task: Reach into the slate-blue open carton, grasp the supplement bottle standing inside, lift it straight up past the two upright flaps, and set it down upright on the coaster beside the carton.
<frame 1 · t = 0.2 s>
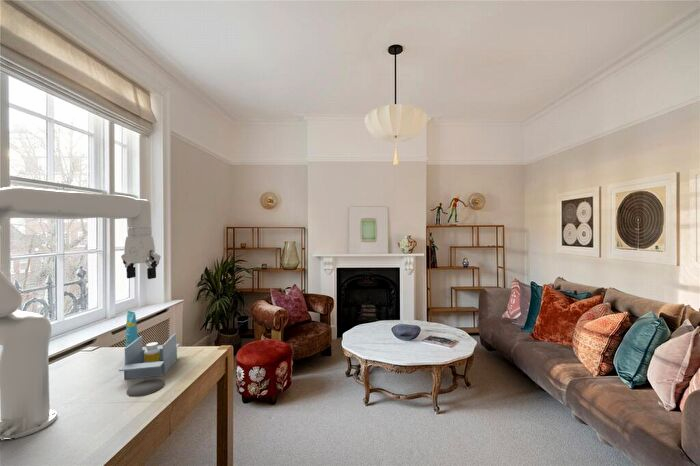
hand: (141, 278, 119), 36 cm above the table, tool pointing down, fingers open, 9 cm apart
supplement bottle: (152, 368, 125), resting in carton
coaster: (146, 387, 109), on the table
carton: (152, 368, 125), on the table
tube: (132, 355, 139), on the table
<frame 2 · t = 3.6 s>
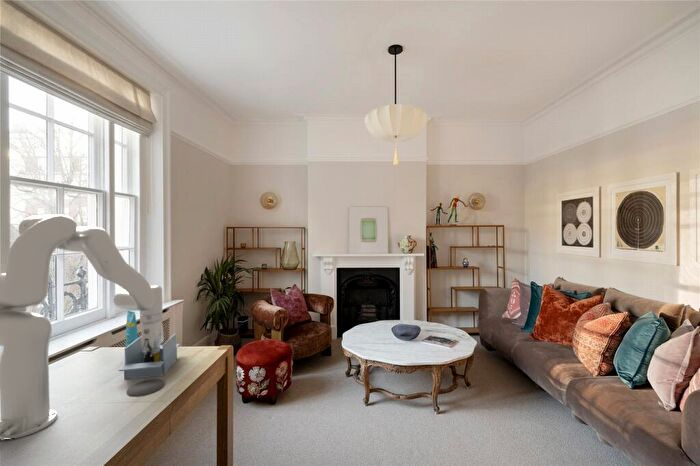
hand: (152, 363, 125), 2 cm above the table, tool pointing down, fingers closed on supplement bottle, 5 cm apart
supplement bottle: (152, 368, 125), resting in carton, touching gripper
everything else where it was.
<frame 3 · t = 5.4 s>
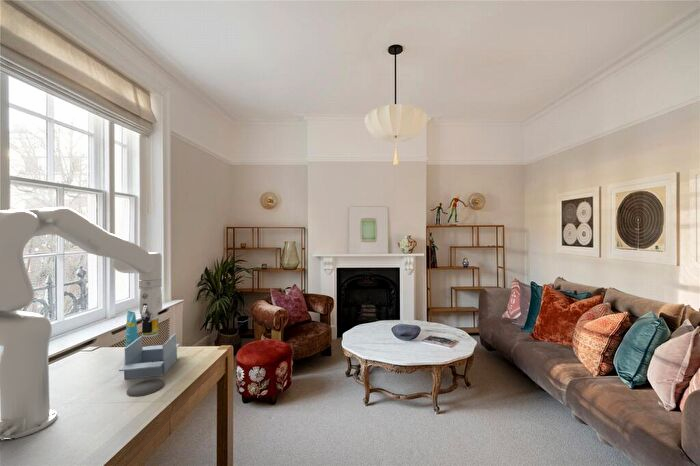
hand: (150, 329, 124), 15 cm above the table, tool pointing down, fingers closed on supplement bottle, 5 cm apart
supplement bottle: (150, 335, 124), point 13 cm above the table, touching gripper
everything else where it was.
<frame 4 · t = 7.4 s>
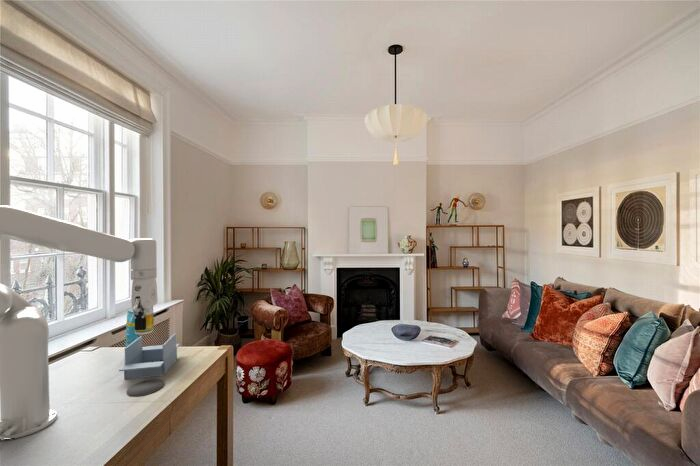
hand: (144, 326, 109), 21 cm above the table, tool pointing down, fingers closed on supplement bottle, 5 cm apart
supplement bottle: (144, 332, 109), point 19 cm above the table, touching gripper
everything else where it was.
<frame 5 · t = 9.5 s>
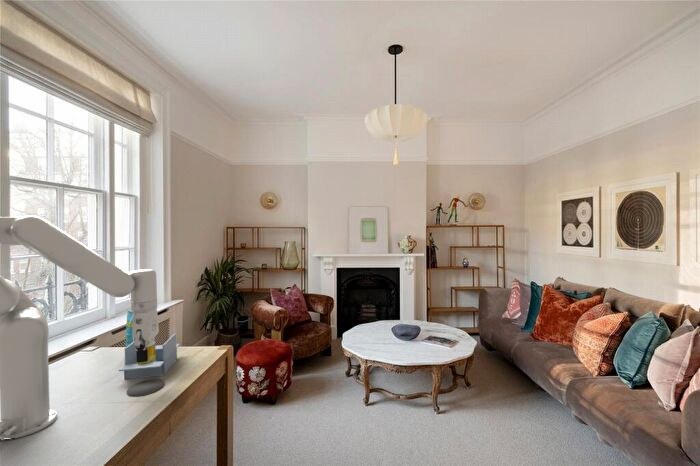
hand: (146, 357, 109), 10 cm above the table, tool pointing down, fingers closed on supplement bottle, 5 cm apart
supplement bottle: (146, 363, 109), point 8 cm above the table, touching gripper
everything else where it was.
when the fingers open (4 cm above the table, at t = 11.2 s): supplement bottle drops 1 cm, resting on coaster.
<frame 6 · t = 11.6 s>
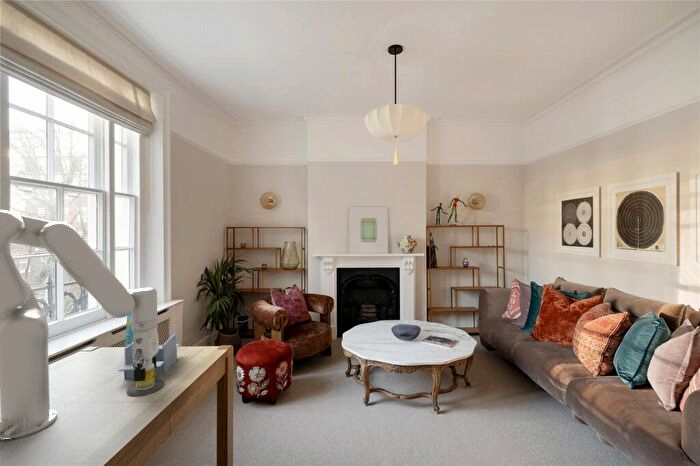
hand: (145, 374, 109), 5 cm above the table, tool pointing down, fingers open, 9 cm apart
supplement bottle: (145, 387, 109), resting on coaster
everything else where it was.
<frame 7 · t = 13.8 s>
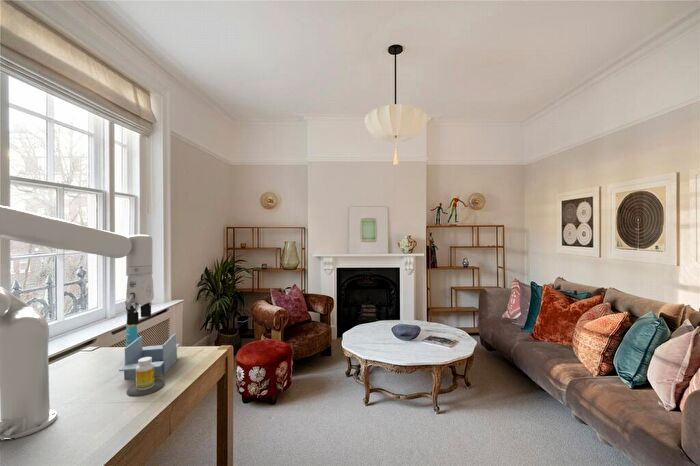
hand: (139, 320, 109), 23 cm above the table, tool pointing down, fingers open, 9 cm apart
nothing on the table moved.
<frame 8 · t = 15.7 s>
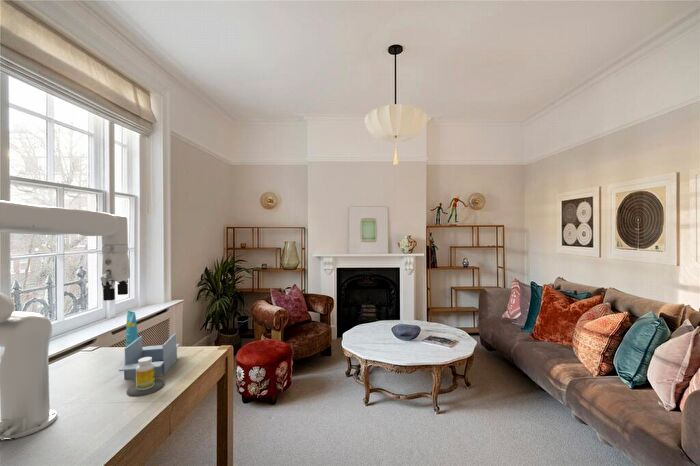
hand: (116, 297, 114), 30 cm above the table, tool pointing down, fingers open, 9 cm apart
nothing on the table moved.
at the end: supplement bottle 0.2 cm off-centre on the coaster, point 0.3 cm above the coaster's base; supplement bottle tilted 0°; the gripper is holding nothing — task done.
